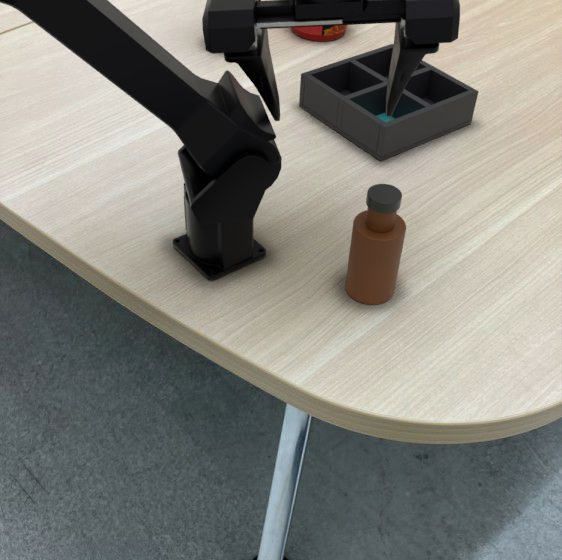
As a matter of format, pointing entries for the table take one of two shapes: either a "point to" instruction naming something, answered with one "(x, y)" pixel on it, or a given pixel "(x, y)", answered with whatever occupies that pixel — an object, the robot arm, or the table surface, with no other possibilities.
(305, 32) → the canned food
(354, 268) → the spice bottle
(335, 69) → the holder
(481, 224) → the table surface
